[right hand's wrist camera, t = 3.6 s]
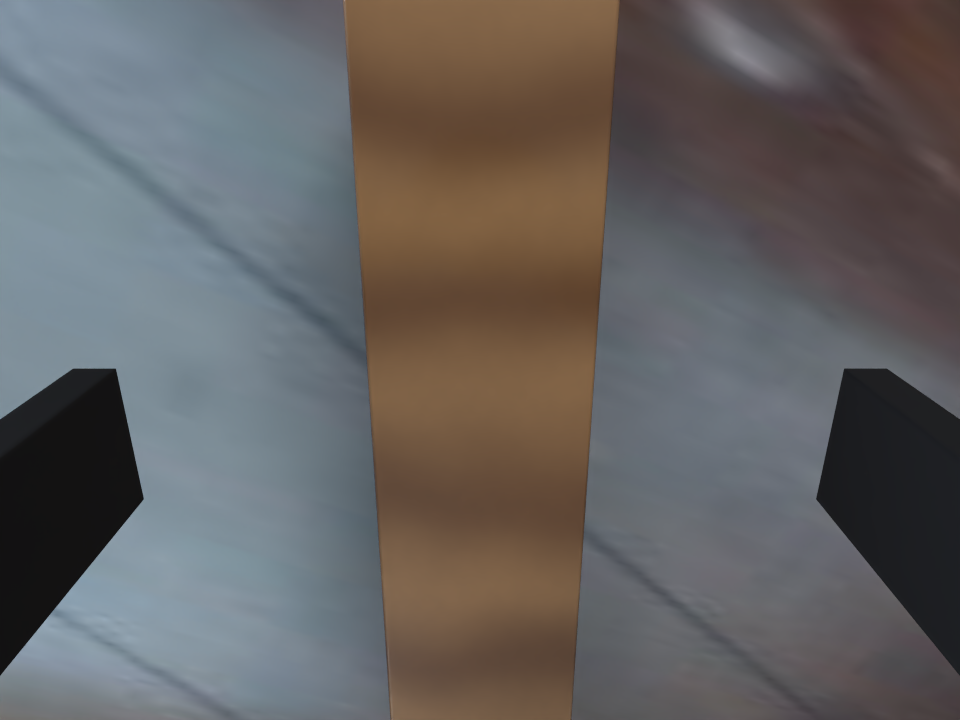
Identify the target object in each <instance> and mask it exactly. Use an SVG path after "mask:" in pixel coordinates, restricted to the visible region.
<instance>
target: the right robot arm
mask: <svg viewBox="0 0 960 720" xmlns="http://www.w3.org/2000/svg"><path fill="white" fill-rule="evenodd" d="M143 499H144V498H143V493H142V489H141V484H140V479H139V475H138V470H137V465H136V461H135V456H134V451H133V447H132V442H131V437H130V433H129V428H128V423H127V419H126V414H125V409H124V405H123V400H122V395H121V391H120V386H119V381H118V377H117V372H116V369H72V370H71V371H69V372H68V373H66V374H65V375H63V376H62V377H61V378H59V379H58V380H56V381H55V382H53V383H52V384H51V385H49V386H48V387H46V388H45V389H43V390H42V391H40V392H39V393H38V394H36V395H35V396H33V397H32V398H30V399H29V400H28V401H26V402H25V403H23V404H22V405H20V406H19V407H17V408H16V409H15V410H13V411H12V412H10V413H9V414H7V415H6V416H4V417H3V418H2V419H0V675H1V674H2V673H3V671H4V670H5V669H6V668H7V667H8V665H9V664H10V663H11V662H12V660H13V659H14V658H15V657H16V656H17V654H18V653H19V652H20V651H21V649H22V648H23V647H24V646H25V644H26V643H27V642H28V641H29V640H30V638H31V637H32V636H33V635H34V633H35V632H36V631H37V630H38V628H39V627H40V626H41V625H42V624H43V622H44V621H45V620H46V619H47V617H48V616H49V615H50V614H51V613H52V611H53V610H54V609H55V608H56V606H57V605H58V604H59V603H60V601H61V600H62V599H63V598H64V597H65V595H66V594H67V593H68V592H69V590H70V589H71V588H72V587H73V585H74V584H75V583H76V582H77V581H78V579H79V578H80V577H81V576H82V574H83V573H84V572H85V571H86V570H87V568H88V567H89V566H90V565H91V563H92V562H93V561H94V560H95V558H96V557H97V556H98V555H99V554H100V552H101V551H102V550H103V549H104V547H105V546H106V545H107V544H108V542H109V541H110V540H111V539H112V538H113V536H114V535H115V534H116V533H117V531H118V530H119V529H120V528H121V527H122V525H123V524H124V523H125V522H126V520H127V519H128V518H129V517H130V515H131V514H132V513H133V512H134V511H135V509H136V508H137V507H138V506H139V504H140V503H141V502H142V501H143ZM816 499H817V501H818V502H819V503H820V504H821V506H822V507H823V508H824V509H825V511H826V512H827V513H828V514H829V515H830V517H831V518H832V519H833V520H834V522H835V523H836V524H837V525H838V527H839V528H840V529H841V530H842V531H843V533H844V534H845V535H846V536H847V538H848V539H849V540H850V541H851V542H852V544H853V545H854V546H855V547H856V549H857V550H858V551H859V552H860V554H861V555H862V556H863V557H864V558H865V560H866V561H867V562H868V563H869V565H870V566H871V567H872V568H873V570H874V571H875V572H876V573H877V574H878V576H879V577H880V578H881V579H882V581H883V582H884V583H885V584H886V585H887V587H888V588H889V589H890V590H891V592H892V593H893V594H894V595H895V597H896V598H897V599H898V600H899V601H900V603H901V604H902V605H903V606H904V608H905V609H906V610H907V611H908V613H909V614H910V615H911V616H912V617H913V619H914V620H915V621H916V622H917V624H918V625H919V626H920V627H921V628H922V630H923V631H924V632H925V633H926V635H927V636H928V637H929V638H930V640H931V641H932V642H933V643H934V644H935V646H936V647H937V648H938V649H939V651H940V652H941V653H942V654H943V656H944V657H945V658H946V659H947V660H948V662H949V663H950V664H951V665H952V667H953V668H954V669H955V670H956V671H957V673H958V674H959V675H960V419H958V418H957V417H956V416H954V415H953V414H951V413H950V412H948V411H947V410H945V409H944V408H943V407H941V406H940V405H938V404H937V403H935V402H934V401H932V400H931V399H930V398H928V397H927V396H925V395H924V394H922V393H921V392H920V391H918V390H917V389H915V388H914V387H912V386H911V385H909V384H908V383H907V382H905V381H904V380H902V379H901V378H899V377H898V376H897V375H895V374H894V373H892V372H891V371H889V370H888V369H844V372H843V377H842V381H841V386H840V391H839V395H838V400H837V405H836V409H835V414H834V419H833V423H832V428H831V433H830V437H829V442H828V447H827V451H826V456H825V461H824V465H823V470H822V475H821V479H820V484H819V489H818V493H817V498H816Z"/></svg>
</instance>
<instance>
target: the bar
mask: <svg viewBox="0 0 960 720" xmlns="http://www.w3.org/2000/svg"><path fill="white" fill-rule="evenodd" d="M619 4H620V1H619V0H343V9H344V24H345V39H346V55H347V70H348V85H349V100H350V115H351V130H352V145H353V160H354V175H355V190H356V205H357V220H358V235H359V251H360V266H361V281H362V296H363V311H364V326H365V341H366V356H367V371H368V386H369V401H370V416H371V431H372V447H373V462H374V477H375V492H376V507H377V522H378V537H379V552H380V567H381V582H382V597H383V612H384V627H385V643H386V658H387V673H388V688H389V703H390V718H391V720H571V714H572V699H573V685H574V670H575V655H576V640H577V626H578V611H579V596H580V581H581V566H582V552H583V537H584V522H585V507H586V492H587V478H588V463H589V448H590V433H591V418H592V404H593V389H594V374H595V359H596V344H597V330H598V315H599V300H600V285H601V271H602V256H603V241H604V226H605V211H606V197H607V182H608V167H609V152H610V137H611V123H612V108H613V93H614V78H615V63H616V49H617V34H618V19H619Z"/></svg>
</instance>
